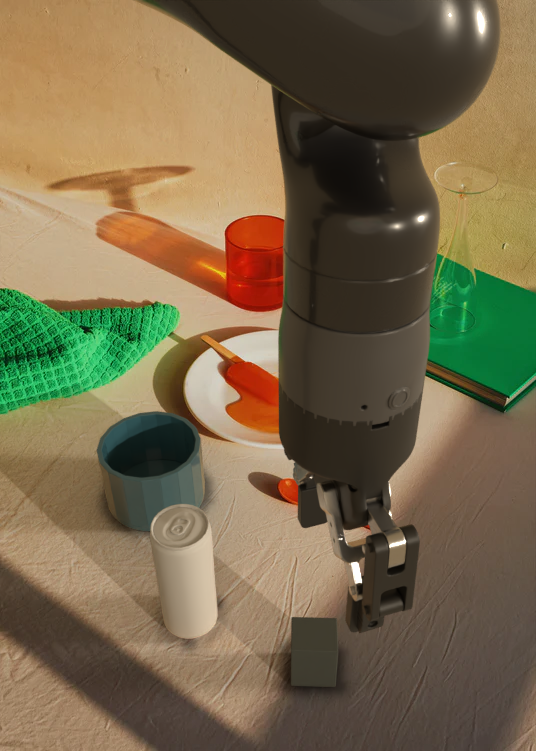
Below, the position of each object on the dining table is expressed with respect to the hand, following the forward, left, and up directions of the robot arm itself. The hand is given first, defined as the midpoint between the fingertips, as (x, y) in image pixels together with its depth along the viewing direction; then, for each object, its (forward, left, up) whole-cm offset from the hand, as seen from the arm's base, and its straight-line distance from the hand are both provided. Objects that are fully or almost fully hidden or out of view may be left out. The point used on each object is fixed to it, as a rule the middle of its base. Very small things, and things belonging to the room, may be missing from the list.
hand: (337, 570), depth 48 cm
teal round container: (+2, +28, -17) cm, 33 cm away
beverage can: (-4, +13, -17) cm, 22 cm away
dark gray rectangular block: (+1, +3, -17) cm, 17 cm away
